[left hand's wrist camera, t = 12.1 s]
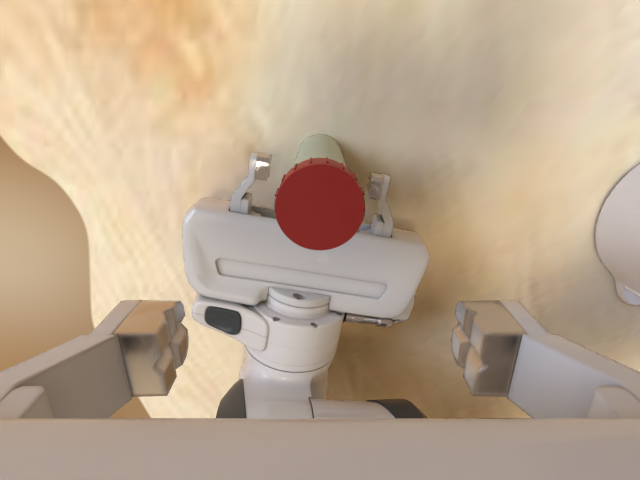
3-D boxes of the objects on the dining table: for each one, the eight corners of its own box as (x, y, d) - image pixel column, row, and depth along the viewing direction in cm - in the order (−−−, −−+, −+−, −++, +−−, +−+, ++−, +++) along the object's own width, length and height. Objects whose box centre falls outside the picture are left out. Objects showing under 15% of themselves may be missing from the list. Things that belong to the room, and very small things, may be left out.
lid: (260, 208, 22) (255, 218, 20) (309, 138, 21) (308, 142, 19) (328, 253, 23) (328, 267, 21) (379, 189, 22) (385, 199, 20)
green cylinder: (289, 161, 35) (267, 214, 21) (314, 124, 34) (311, 153, 19) (324, 186, 36) (327, 254, 22) (350, 151, 35) (373, 199, 20)
